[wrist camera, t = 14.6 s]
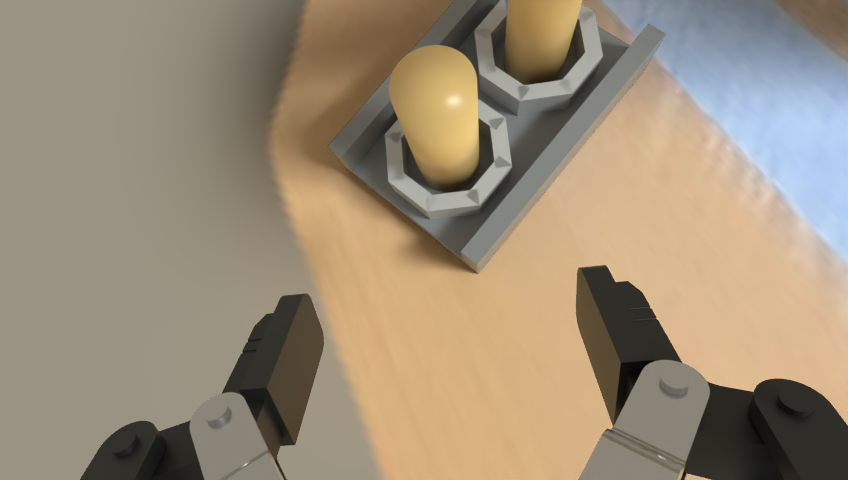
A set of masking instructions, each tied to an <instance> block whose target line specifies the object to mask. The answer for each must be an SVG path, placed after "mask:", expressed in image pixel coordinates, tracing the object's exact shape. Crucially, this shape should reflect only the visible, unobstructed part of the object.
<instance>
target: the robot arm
mask: <svg viewBox="0 0 848 480" xmlns="http://www.w3.org/2000/svg"><path fill="white" fill-rule="evenodd" d="M576 316H577V323H578V327H579V330H580V333H581V336H582V339H583V342H584V345H585V348H586V350H587V353H588V356H589V359H590V362H591V365H592V368H593V370H594V373H595V376H596V379H597V382H598V385H599V387H600V390H601V393H602V396H603V399H604V402H605V405H606V407H607V410H608V413H609V416H610V419H611V422H612V424H613V428H612V429H611V430H609V429H606V430H605V431H604V433H603V434H602V436H601V438H600V439H599V441H598V443H597V445H596V447H595V449H594V451H593V453H592V455H591V457H590V459H589V460H588V462H587V464H586V466H585V468H584V470H583V472H582V474H581V476H580V478H579V480H685V479H686V476H687V474H692V475H696V476H700V477H704V478H708V479H712V480H848V426H847V424H846V423H845V422H844V420H843V419H842V418H841V416H840V415H839V414H838V412H837V411H836V410H835V408H834V407H833V406H832V404H831V403H830V402H829V401H828V400H827V399H826V398H825V397H824V396H823V395H821V394H820V393H818V392H817V391H815V390H814V389H812V388H810V387H808V386H806V385H804V384H801V383H798V382H795V381H791V380H786V379H769V380H765V381H763V382H761V383H760V384H758V385H757V387H756V388H755V390H754V392H750V391H745V390H739V389H734V388H728V387H723V386H719V385H715V384H712V383H709V382H707V381H706V380H705V378H704V377H703V376H702V375H701V374H700V373H699V372H698V371H696V370H695V369H694V368H692V367H690V366H688V365H686V364H684V363H682V361H681V360H680V358H679V356H678V355H677V353H676V351H675V349H674V348H673V346H672V344H671V342H670V340H669V339H668V337H667V335H666V333H665V332H664V330H663V328H662V326H661V325H660V323H659V321H658V320H657V319H656V316H655V314H654V312H653V310H652V309H650V305H649V303H648V302H647V300H646V298H645V296H644V295H643V293H642V292H641V291H640V290H639V289H637V288H636V287H635V286H633V285H632V284H631V283H629V282H628V281H624V282H615V281H614V279H613V277H612V275H611V273H610V271H609V269H608V267H607V266H606V265H603V266H593V267H582V268H578V272H577V294H576ZM323 346H324V337H323V331H322V328H321V325H320V322H319V320H318V317H317V314H316V311H315V309H314V306H313V303H312V301H311V298H310V296H309V295H308V294H298V295H297V294H296V295H286V296H282V297H281V298H280V300H279V302H278V305H277V307H276V309H275V311H274V313H271V314H266V315H265V316H264V317H263V318H262V319H261V320H260V321H259V322H258V323H257V325H255V327H254V328H253V331H252V332H251V334H250V337H249V339H248V343H246V345H245V347H244V349H243V354H241V355H240V357H239V359H238V361H237V363H236V365H235V368H234V369H233V371H232V374H231V376H230V378H229V380H228V382H227V384H226V386H225V388H224V390H223V392H222V394H219V395H217V396H214V397H212V398H211V399H209V400H207V401H206V402H205V403H203V404H202V405H201V406H200V407H199V408H198V409H197V411H196V412H195V413H194V415H193V417H192V419H191V420H190V421H188V422H185V423H182V424H180V425H177V426H174V427H171V428H168V429H165V430H162V431H158V430H157V429H156V427H155V426H154V424H152V423H151V422H148V421H138V422H134V423H131V424H128V425H126V426H124V427H122V428H120V429H119V430H117V431H116V432H115V433H113V434H112V435H111V436H110V437H109V438H108V439H107V440H106V441H105V442H104V443H103V444H102V445H101V447H100V448H99V450H98V451H97V453H96V455H95V457H94V458H93V460H92V461H91V463H90V464H89V466H88V468H87V469H86V471H85V472H84V474H83V476H82V477H81V479H80V480H287V478H286V476H285V473H284V471H283V469H282V467H281V465H280V463H279V461H278V459H277V454H278V451H279V448H280V446H285V445H295V444H296V440H297V437H298V433H299V430H300V426H301V423H302V420H303V416H304V413H305V410H306V406H307V403H308V399H309V396H310V392H311V389H312V386H313V382H314V379H315V375H316V371H317V368H318V365H319V362H320V358H321V355H322V351H323Z"/></svg>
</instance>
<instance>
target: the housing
mask: <svg viewBox="0 0 848 480" xmlns="http://www.w3.org/2000/svg"><path fill="white" fill-rule="evenodd" d="M582 1H583V0H455V1H454V2H453V3H452V4H451V5H450V7H449V8H448V9H447V10H446V11H445V12H444V13H443V15H442V16H441V17H440V18H439V19H438V20H437V21H436V23H435V24H434V25H433V26H432V27H431V28H430V29H429V31H428V32H427V33H426V34H425V35H424V36H423V37H422V39H421V40H420V41H419V42H418V43H417V44H416V45H415V47H414V48H413V49H412V50H411V51H410V52H412V51H414V50H416V49H418V48H421V47H424V46H429V45H442V46H448V47H451V48H453V49H456V50H458V51H459V52H461V53H462V54H463V55H465V56H466V57H467V58H468V59H469V61H470V62H471V63H472V65H473V67H474V69H475V72H476V76H477V92H478V126H479V160H480V164H479V170H478V173H477V175H476V177H475V178H474V180H473V181H472V182H471V183H470V184H469V185H468V186H466V187H465V188H463V189H461V190H458V191H454V192H442V191H439V190H436V189H434V188H432V187H431V186H429V185H428V184H427V183H426V182H425V181H424V179H423V177H422V175H421V173H420V171H419V168H418V166H417V163H416V161H415V159H414V156H413V154H412V151H411V149H410V147H409V144H408V142H407V139H406V137H405V134H404V132H403V130H402V127H401V125H400V122H399V120H398V118H397V115H396V113H395V110H394V108H393V105H392V103H391V100H390V97H389V81H390V77H391V74H392V73H391V74H390V75H389V76H388V78H387V79H386V80H385V81H384V82H383V83H382V84H381V86H380V87H379V88H378V89H377V90H376V91H375V92H374V94H373V95H372V96H371V97H370V98H369V99H368V101H367V102H366V103H365V104H364V105H363V106H362V107H361V109H360V110H359V111H358V112H357V113H356V114H355V115H354V117H353V118H352V119H351V120H350V121H349V122H348V123H347V125H346V126H345V127H344V128H343V129H342V130H341V131H340V133H339V134H338V135H337V136H336V137H335V138H334V139H333V141H332V142H331V143H330V144H329V145H328V147H329V148H330V150H331V151H332V152H333V153H334V155H335V156H336V157H337V158H338V159H339V161H340V162H341V163H342V164H343V165H344V167H345V168H346V169H347V170H349V171H350V172H351V173H352V174H354V175H355V176H356V177H357V178H359V179H360V180H361V181H362V182H364V183H365V184H366V185H367V186H369V187H370V188H371V189H372V190H374V191H375V192H376V193H377V194H379V195H380V196H381V197H382V198H384V199H385V200H386V201H387V202H389V203H390V204H391V205H392V206H394V207H395V208H396V209H397V210H399V211H400V212H401V213H402V214H404V215H405V216H406V217H407V218H409V219H410V220H411V221H412V222H414V223H415V224H416V225H417V226H419V227H420V228H421V229H422V230H424V231H425V232H426V233H427V234H429V235H430V236H431V237H432V238H434V239H435V240H436V241H437V242H439V243H440V244H441V245H442V246H444V247H445V248H446V249H447V250H449V251H450V252H451V253H452V254H454V255H455V256H456V257H457V258H459V259H460V260H461V261H462V262H464V263H465V264H466V265H468V266H469V267H470V268H471V269H473V270H474V271H475V272H476V273H479V272H480V271H481V270H482V268H483V267H484V266H485V265H486V264H487V262H488V261H489V260H490V259H491V257H492V256H493V255H494V254H495V253H496V251H497V250H498V249H499V248H500V246H501V245H502V244H503V243H504V242H505V240H506V239H507V238H508V237H509V235H510V234H511V233H512V232H513V231H514V229H515V228H516V227H517V226H518V224H519V223H520V222H521V221H522V219H523V218H524V217H525V216H526V215H527V213H528V212H529V211H530V210H531V208H532V207H533V206H534V205H535V204H536V202H537V201H538V200H539V199H540V197H541V196H542V195H543V194H544V193H545V191H546V190H547V189H548V188H549V186H550V185H551V184H552V183H553V182H554V180H555V179H556V178H557V177H558V175H559V174H560V173H561V172H562V171H563V169H564V168H565V167H566V166H567V164H568V163H569V162H570V161H571V160H572V158H573V157H574V156H575V155H576V153H577V152H578V151H579V150H580V148H581V147H582V146H583V145H584V144H585V142H586V141H587V140H588V139H589V137H590V136H591V135H592V134H593V133H594V131H595V130H596V129H597V128H598V126H599V125H600V124H601V123H602V122H603V120H604V119H605V118H606V117H607V115H608V114H609V113H610V112H611V111H612V109H613V108H614V107H615V106H616V104H617V103H618V102H619V101H620V100H621V98H622V97H623V96H624V95H625V93H626V92H627V91H628V90H629V89H630V87H631V86H632V85H633V84H634V82H635V81H636V80H637V79H638V77H639V76H640V75H641V74H642V73H643V71H644V70H645V68H646V66H647V65H648V63H649V61H650V60H651V58H652V56H653V55H654V53H655V51H656V50H657V48H658V46H659V45H660V43H661V41H662V40H663V38H664V36H665V33H663V32H661V31H660V30H658V29H656V28H655V27H653V26H651V25H649V24H648V25H647V26H646V27H645V29H644V30H643V31H642V32H641V34H640V35H639V36H638V37H637V38H636V40H635V41H634V42H633V43H632V44H631V46H630V45H628V44H626V43H625V42H623V41H621V40H620V39H618V38H616V37H615V36H613V35H611V34H610V33H608V32H606V31H605V30H603V29H601V28H600V27H598V26H597V21H596V16H595V11H593V10H591V9H590V8H588V7H586V6H584V5H583V4H582ZM410 52H409V53H410Z"/></svg>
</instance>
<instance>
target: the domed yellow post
mask: <svg viewBox="0 0 848 480" xmlns="http://www.w3.org/2000/svg"><path fill="white" fill-rule="evenodd" d="M389 97H390V100H391V103H392V105H393V108H394V110H395V113H396V115H397V118H398V120H399V122H400V125H401V127H402V130H403V132H404V134H405V137H406V139H407V142H408V144H409V147H410V149H411V151H412V154H413V156H414V159H415V161H416V163H417V166H418V168H419V171H420V173H421V175H422V177H423V179H424V181H425V182H426V183H427V184H428V185H429V186H431V187H432V188H434V189H436V190H439V191H442V192H454V191H458V190H461V189H463V188H465V187H466V186H468V185H469V184H470V183H471V182H472V181H473V180H474V178H475V177H476V175H477V173H478V170H479V164H480V160H479V126H478V92H477V76H476V72H475V69H474V67H473V65H472V63H471V62H470V61H469V59H468V58H467V57H466V56H465V55H463V54H462V53H461V52H459V51H458V50H456V49H453V48H451V47H448V46H442V45H429V46H424V47H421V48H418V49H416V50H414V51H412V52H410V53H408V54H407V55H406V56H405V57H403V58H402V59H401V60H400V61H399V63H398V64H397V65H396V67H395V68H394V70H393V72H392V74H391V77H390V81H389Z"/></svg>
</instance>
